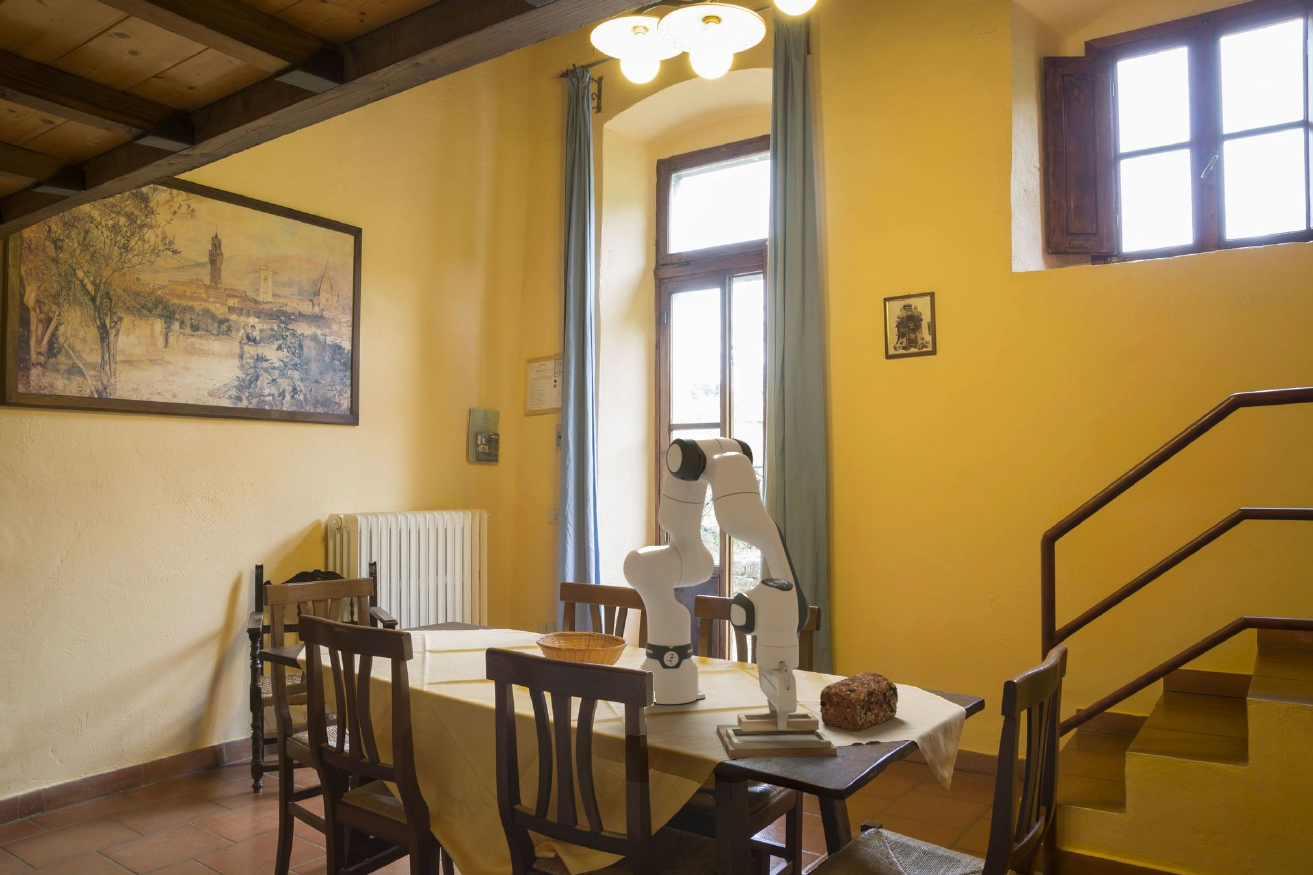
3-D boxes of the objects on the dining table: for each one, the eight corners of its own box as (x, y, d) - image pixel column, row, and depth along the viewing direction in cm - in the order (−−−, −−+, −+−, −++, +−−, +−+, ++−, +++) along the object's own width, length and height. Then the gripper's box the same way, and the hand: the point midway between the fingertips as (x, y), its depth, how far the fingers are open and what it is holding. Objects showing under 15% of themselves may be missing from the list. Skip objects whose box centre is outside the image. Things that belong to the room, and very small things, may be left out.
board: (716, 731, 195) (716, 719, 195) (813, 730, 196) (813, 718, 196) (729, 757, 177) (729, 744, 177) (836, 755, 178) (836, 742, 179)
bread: (861, 709, 215) (861, 668, 215) (900, 718, 207) (900, 675, 208) (817, 724, 202) (817, 680, 202) (857, 734, 194) (857, 688, 195)
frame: (737, 723, 186) (737, 713, 186) (811, 722, 187) (811, 712, 187) (742, 731, 180) (742, 721, 180) (818, 730, 181) (818, 720, 181)
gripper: (804, 667, 174) (804, 738, 174) (781, 647, 195) (781, 710, 194) (773, 668, 174) (773, 738, 173) (753, 648, 194) (753, 711, 193)
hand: (777, 723), depth 184 cm, fingers closed on frame, 6 cm apart
